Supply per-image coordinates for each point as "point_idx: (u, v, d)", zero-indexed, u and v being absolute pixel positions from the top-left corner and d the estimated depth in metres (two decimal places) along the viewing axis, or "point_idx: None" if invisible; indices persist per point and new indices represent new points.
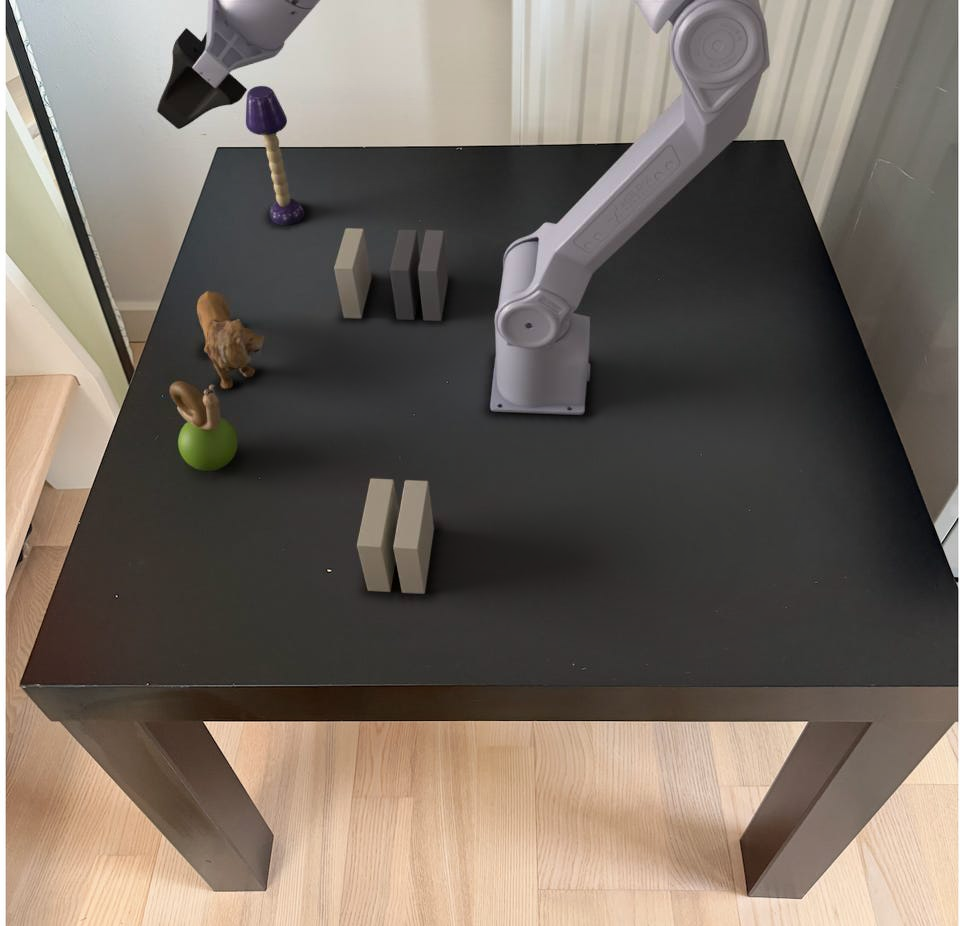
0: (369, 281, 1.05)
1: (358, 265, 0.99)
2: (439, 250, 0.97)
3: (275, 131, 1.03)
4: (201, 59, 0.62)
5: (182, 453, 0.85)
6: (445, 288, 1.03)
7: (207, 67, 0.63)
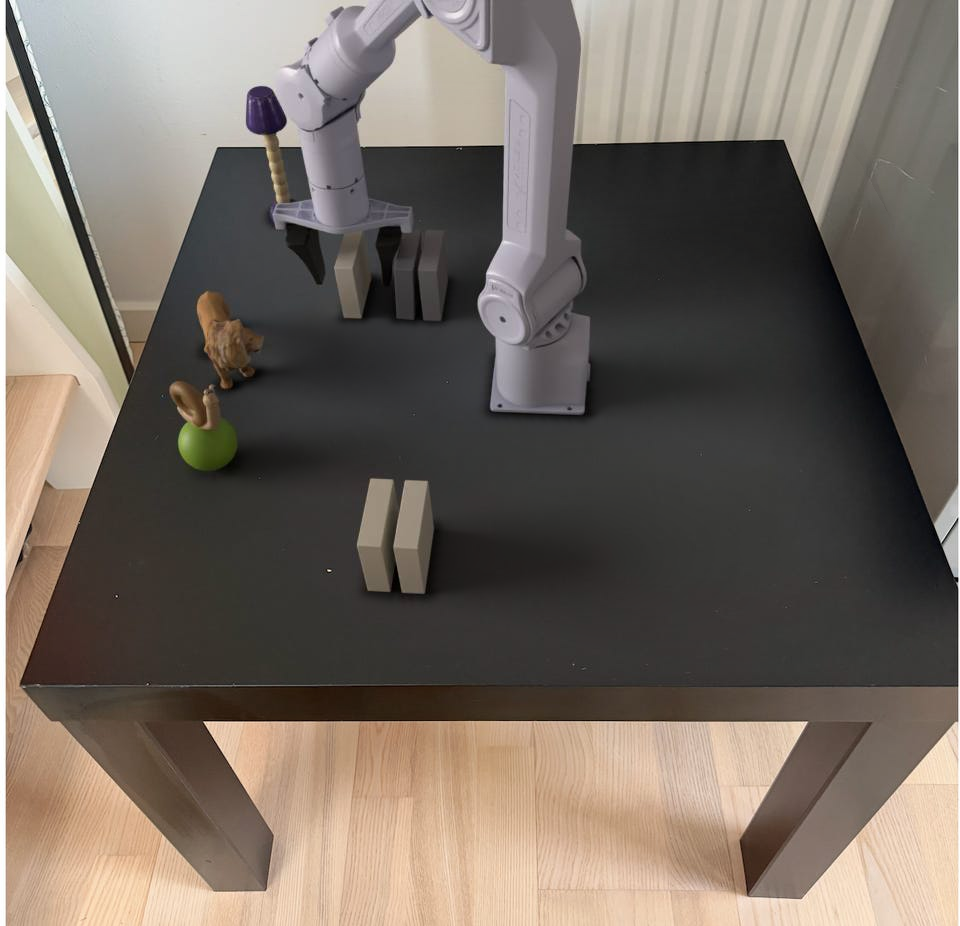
0: (369, 281, 1.05)
1: (358, 265, 0.99)
2: (439, 250, 0.97)
3: (275, 131, 1.03)
4: None
5: (182, 453, 0.85)
6: (445, 288, 1.03)
7: None
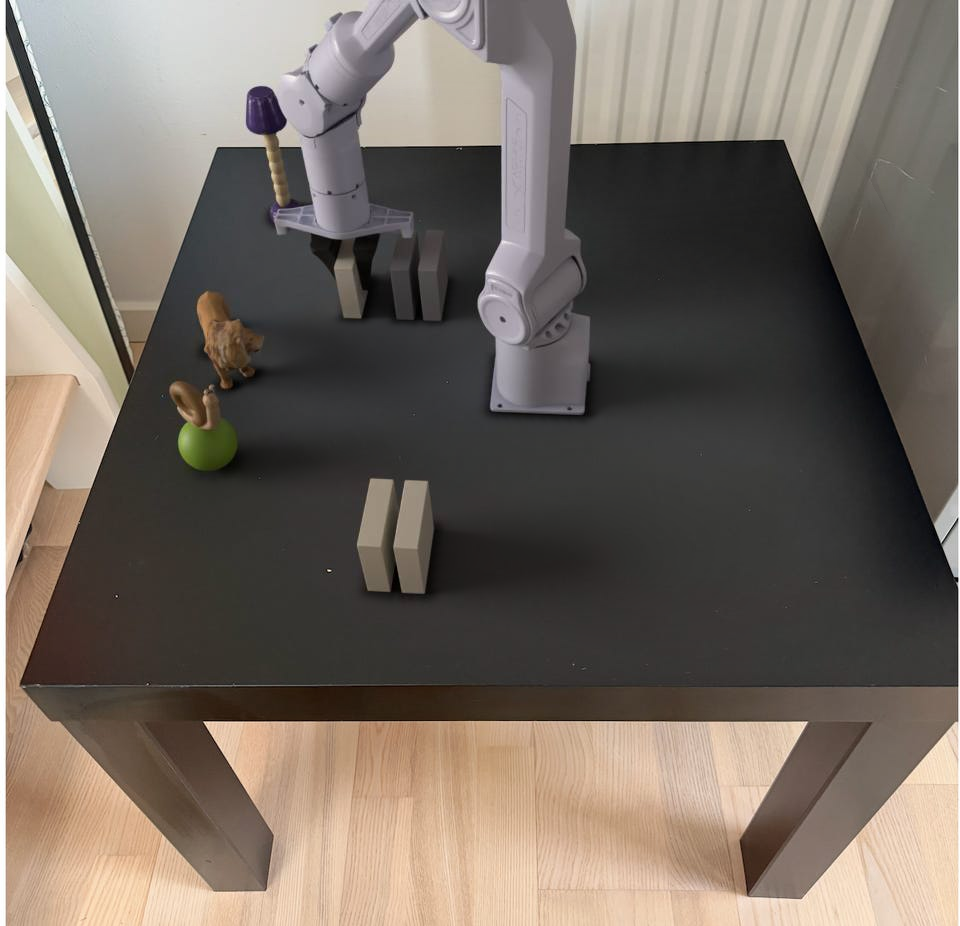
0: None
1: None
2: (439, 250, 0.97)
3: (275, 131, 1.03)
4: None
5: (182, 453, 0.85)
6: (445, 288, 1.03)
7: None
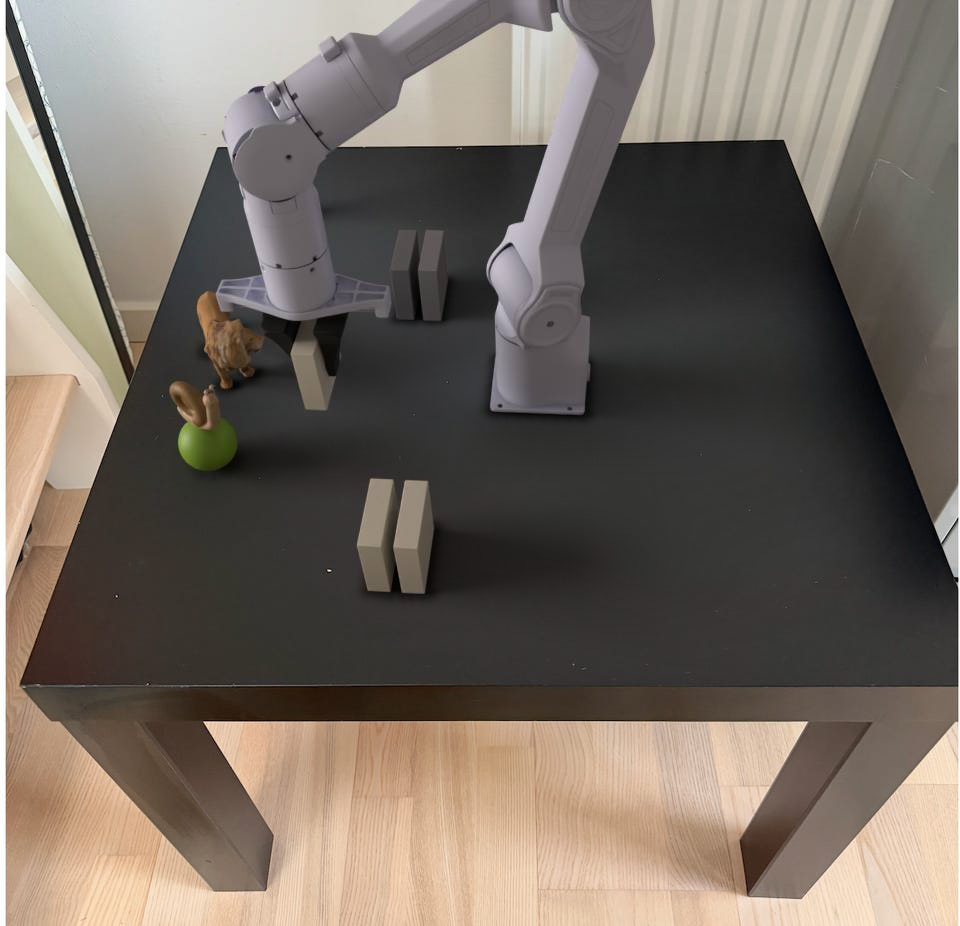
0: None
1: None
2: (439, 250, 0.97)
3: None
4: None
5: (182, 453, 0.85)
6: (445, 288, 1.03)
7: None
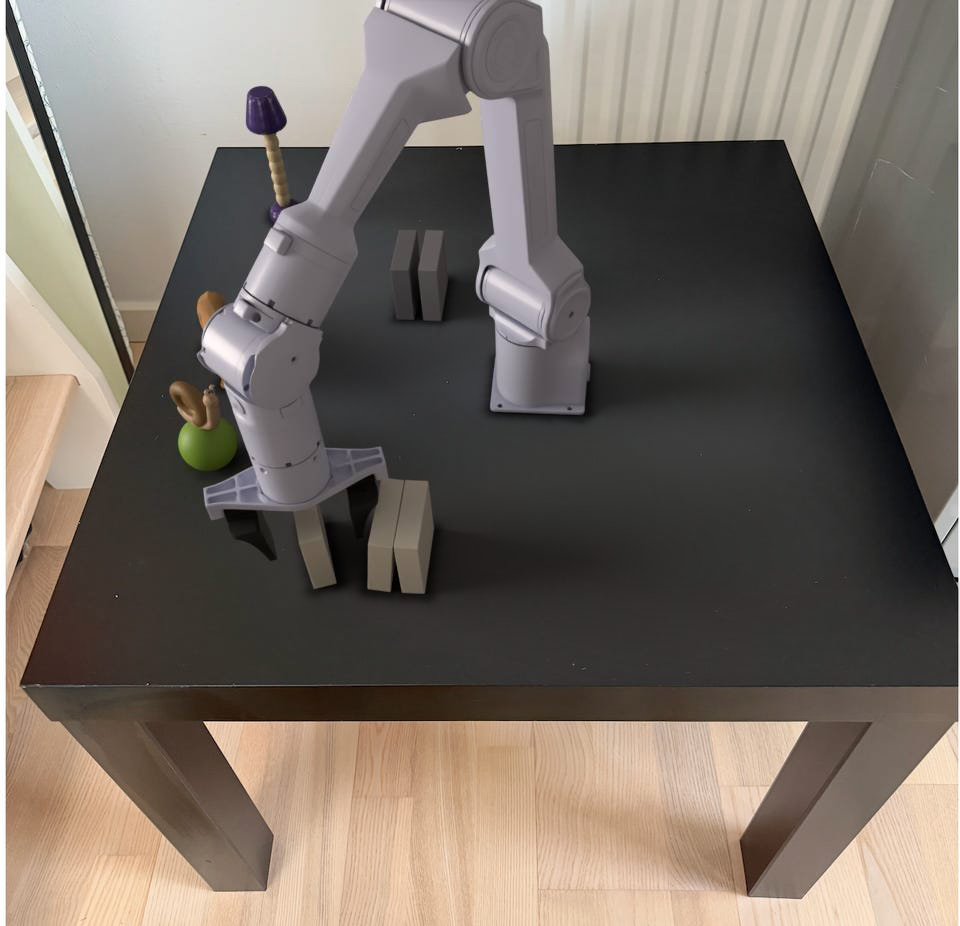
0: (324, 528, 0.83)
1: (321, 525, 0.77)
2: (439, 250, 0.97)
3: (275, 131, 1.03)
4: None
5: (182, 453, 0.85)
6: (445, 288, 1.03)
7: None
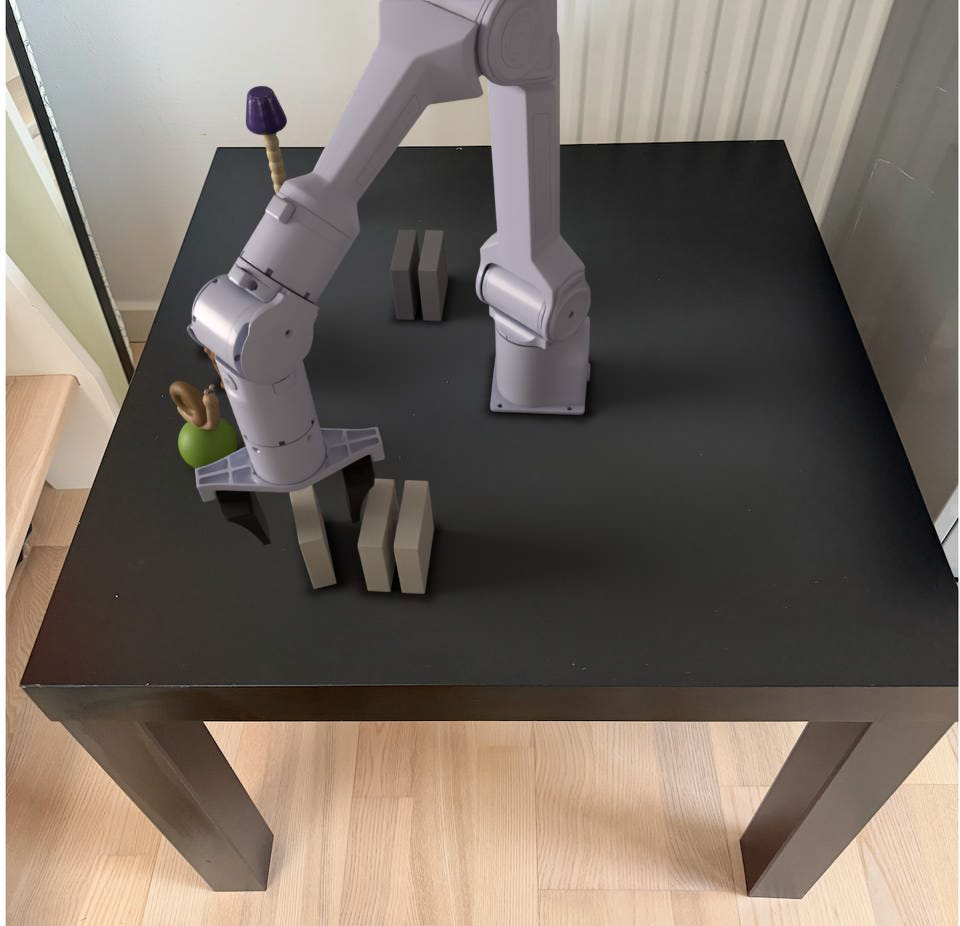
0: (324, 528, 0.83)
1: (321, 525, 0.77)
2: (439, 250, 0.97)
3: (275, 131, 1.03)
4: None
5: (182, 453, 0.85)
6: (445, 288, 1.03)
7: None
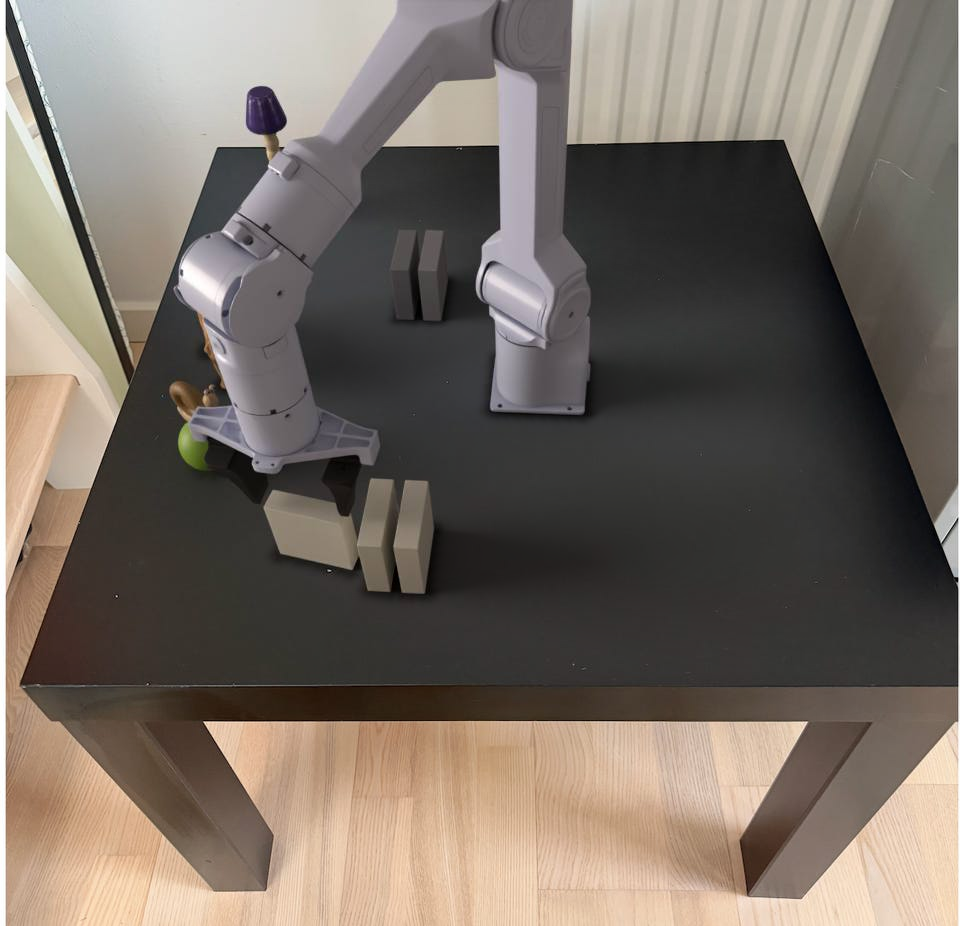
0: None
1: None
2: (439, 250, 0.97)
3: (275, 131, 1.03)
4: (372, 455, 0.67)
5: (182, 453, 0.85)
6: (445, 288, 1.03)
7: (374, 450, 0.68)
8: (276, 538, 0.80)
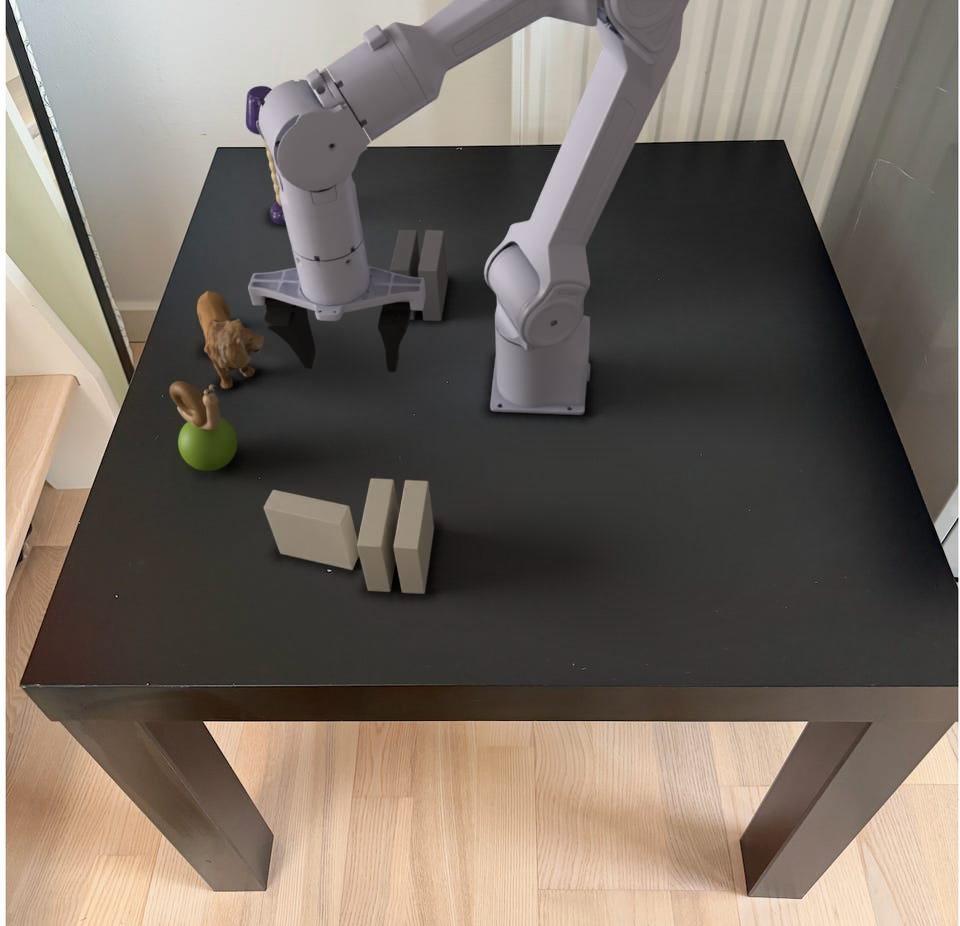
0: None
1: None
2: (439, 250, 0.97)
3: None
4: (422, 299, 0.74)
5: (182, 453, 0.85)
6: (445, 288, 1.03)
7: (423, 296, 0.75)
8: (276, 538, 0.80)
